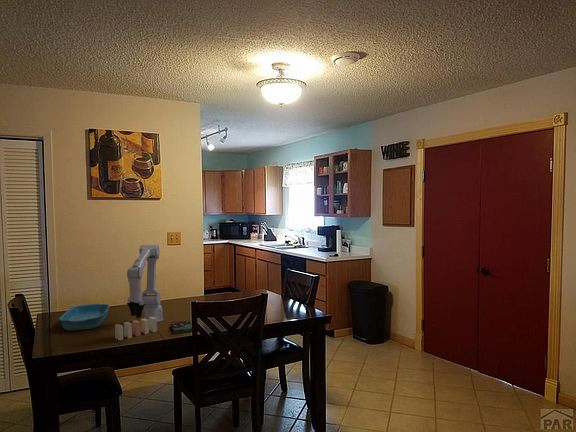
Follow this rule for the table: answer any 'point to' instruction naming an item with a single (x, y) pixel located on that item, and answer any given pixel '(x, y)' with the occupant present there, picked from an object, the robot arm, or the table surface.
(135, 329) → the domino
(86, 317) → the casserole dish
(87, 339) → the table surface
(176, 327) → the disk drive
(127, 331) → the domino
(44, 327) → the table surface
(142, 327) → the domino
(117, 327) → the domino
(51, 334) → the table surface
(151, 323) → the domino
